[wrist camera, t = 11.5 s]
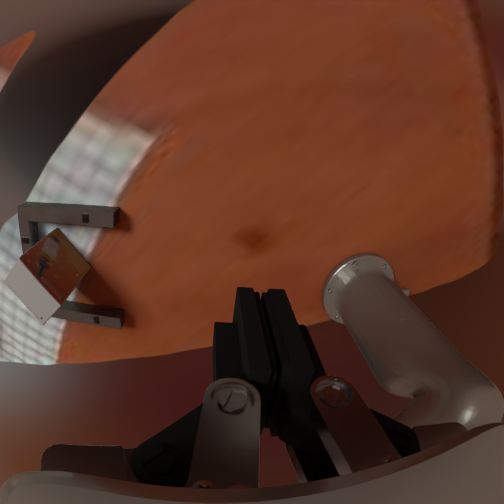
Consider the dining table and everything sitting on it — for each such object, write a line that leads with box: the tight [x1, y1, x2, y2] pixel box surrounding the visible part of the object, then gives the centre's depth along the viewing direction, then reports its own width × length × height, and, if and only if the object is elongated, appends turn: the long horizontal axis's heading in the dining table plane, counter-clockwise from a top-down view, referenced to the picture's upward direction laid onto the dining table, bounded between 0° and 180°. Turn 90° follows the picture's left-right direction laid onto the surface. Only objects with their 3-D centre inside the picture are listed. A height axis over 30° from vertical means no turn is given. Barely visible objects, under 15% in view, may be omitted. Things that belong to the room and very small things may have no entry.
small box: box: [4, 228, 91, 325], centre depth 31 cm, size 8×6×10 cm
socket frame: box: [17, 202, 125, 329], centre depth 35 cm, size 16×18×3 cm
